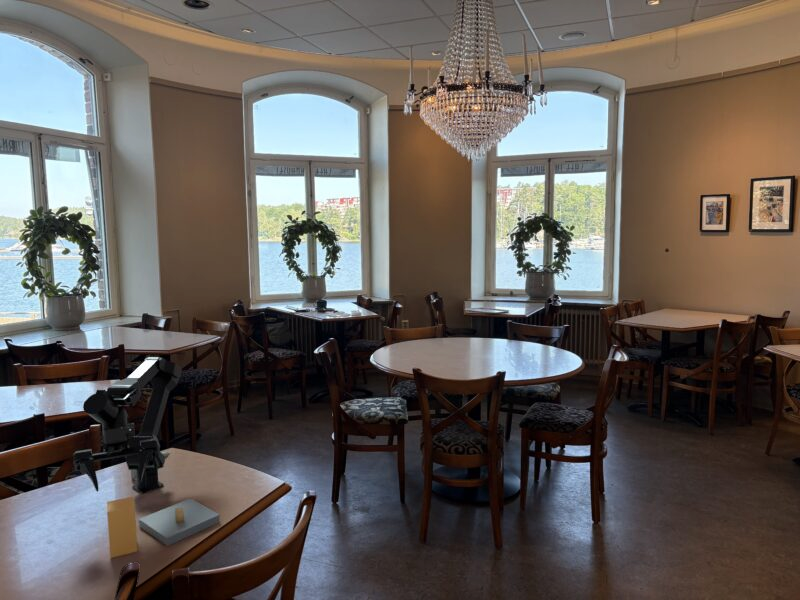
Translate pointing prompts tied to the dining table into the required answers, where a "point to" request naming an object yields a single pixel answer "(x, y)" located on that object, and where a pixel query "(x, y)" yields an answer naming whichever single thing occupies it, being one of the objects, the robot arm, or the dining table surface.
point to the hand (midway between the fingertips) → (119, 486)
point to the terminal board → (178, 529)
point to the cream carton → (122, 526)
